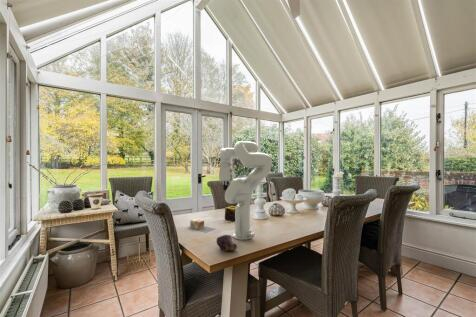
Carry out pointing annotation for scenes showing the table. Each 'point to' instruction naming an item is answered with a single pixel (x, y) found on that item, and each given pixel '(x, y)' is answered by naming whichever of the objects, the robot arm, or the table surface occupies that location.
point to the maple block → (197, 223)
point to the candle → (230, 213)
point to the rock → (226, 243)
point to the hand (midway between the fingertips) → (225, 190)
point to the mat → (203, 229)
